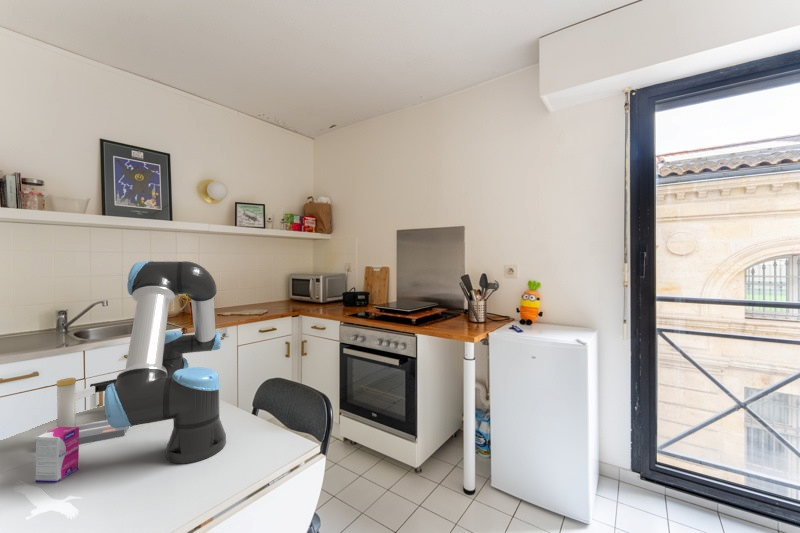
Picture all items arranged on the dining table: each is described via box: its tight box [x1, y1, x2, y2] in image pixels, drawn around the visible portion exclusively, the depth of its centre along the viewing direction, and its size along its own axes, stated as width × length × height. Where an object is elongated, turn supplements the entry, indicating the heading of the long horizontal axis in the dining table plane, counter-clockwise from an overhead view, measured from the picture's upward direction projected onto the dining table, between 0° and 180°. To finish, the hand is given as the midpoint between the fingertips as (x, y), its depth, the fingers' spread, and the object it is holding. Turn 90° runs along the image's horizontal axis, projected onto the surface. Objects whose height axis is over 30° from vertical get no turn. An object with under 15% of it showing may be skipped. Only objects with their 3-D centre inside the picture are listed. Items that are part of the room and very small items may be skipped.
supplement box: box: [34, 426, 80, 484], centre depth 87 cm, size 6×6×12 cm
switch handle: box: [56, 377, 77, 427], centre depth 104 cm, size 4×4×16 cm
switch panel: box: [46, 419, 130, 445], centre depth 107 cm, size 20×10×3 cm, turn 118°
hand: (88, 399), depth 110 cm, fingers open, 13 cm apart
